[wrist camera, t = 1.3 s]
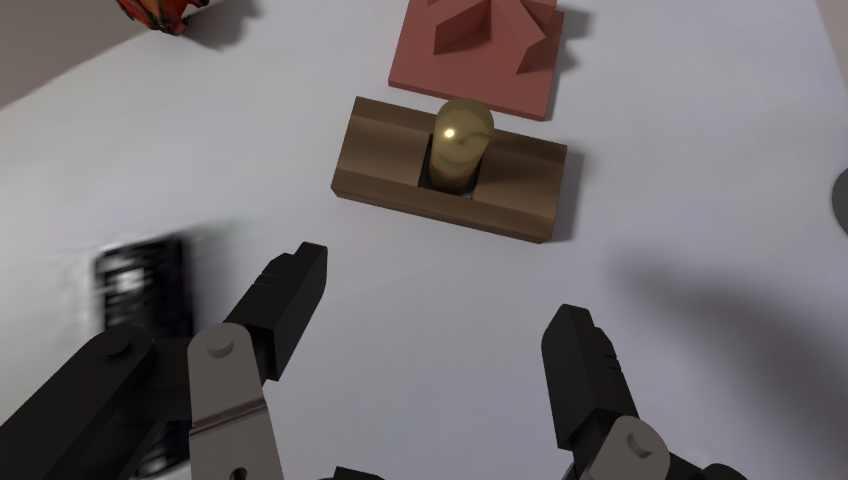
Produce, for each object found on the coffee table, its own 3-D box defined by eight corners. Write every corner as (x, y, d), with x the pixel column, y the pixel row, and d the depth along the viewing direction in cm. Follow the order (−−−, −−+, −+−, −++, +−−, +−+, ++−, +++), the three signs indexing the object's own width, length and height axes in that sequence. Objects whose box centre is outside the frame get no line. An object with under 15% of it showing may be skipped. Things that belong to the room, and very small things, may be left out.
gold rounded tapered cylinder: (445, 149, 35) (460, 86, 25) (476, 175, 35) (505, 121, 24) (419, 179, 35) (423, 127, 24) (450, 204, 35) (469, 164, 24)
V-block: (541, 121, 36) (561, 94, 31) (388, 85, 36) (385, 53, 31) (560, 19, 38) (583, -21, 33) (415, -15, 38) (416, -61, 33)
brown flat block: (538, 244, 34) (550, 239, 31) (337, 196, 34) (330, 187, 31) (554, 157, 36) (567, 145, 33) (360, 112, 36) (356, 95, 33)
